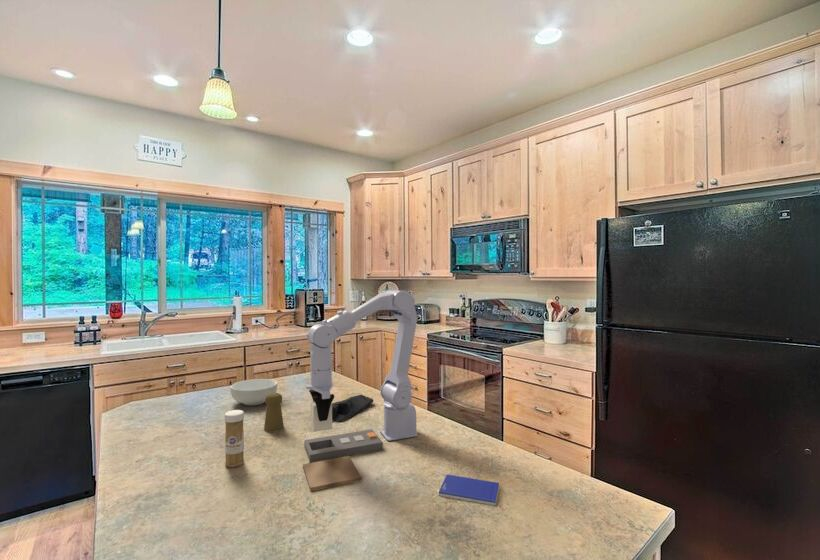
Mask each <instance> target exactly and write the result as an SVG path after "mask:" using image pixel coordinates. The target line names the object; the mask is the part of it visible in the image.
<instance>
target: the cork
mask: <svg viewBox="0 0 820 560" xmlns="http://www.w3.org/2000/svg"><path fill="white" fill-rule="evenodd" d="M264 403H265V405H266V411H265V419H264V426H263V431H264V432H267V433H274V432H275V433H276V432H279V431H282V430H283V429H285V425H284V418H283V413H282V405H281V404H282V403H283V396H282V394H281V393H280V392H276V393H271V394H268V395H267V396H266V398H265V402H264Z"/></svg>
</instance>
